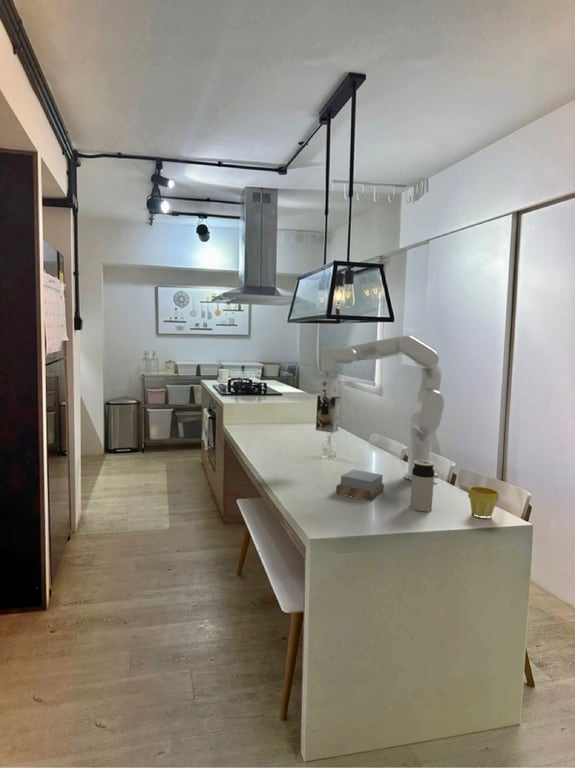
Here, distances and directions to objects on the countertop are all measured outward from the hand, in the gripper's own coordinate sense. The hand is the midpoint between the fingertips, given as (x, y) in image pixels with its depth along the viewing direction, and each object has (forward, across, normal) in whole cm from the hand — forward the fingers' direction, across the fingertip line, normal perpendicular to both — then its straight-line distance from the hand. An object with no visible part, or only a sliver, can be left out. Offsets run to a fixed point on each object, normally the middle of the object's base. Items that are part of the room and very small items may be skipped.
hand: (327, 413), depth 228 cm
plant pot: (+30, -14, -70) cm, 78 cm away
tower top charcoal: (+26, -16, -24) cm, 38 cm away
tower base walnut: (+30, -16, -23) cm, 41 cm away
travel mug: (+29, -20, -50) cm, 61 cm away
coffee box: (+8, 0, 0) cm, 8 cm away
